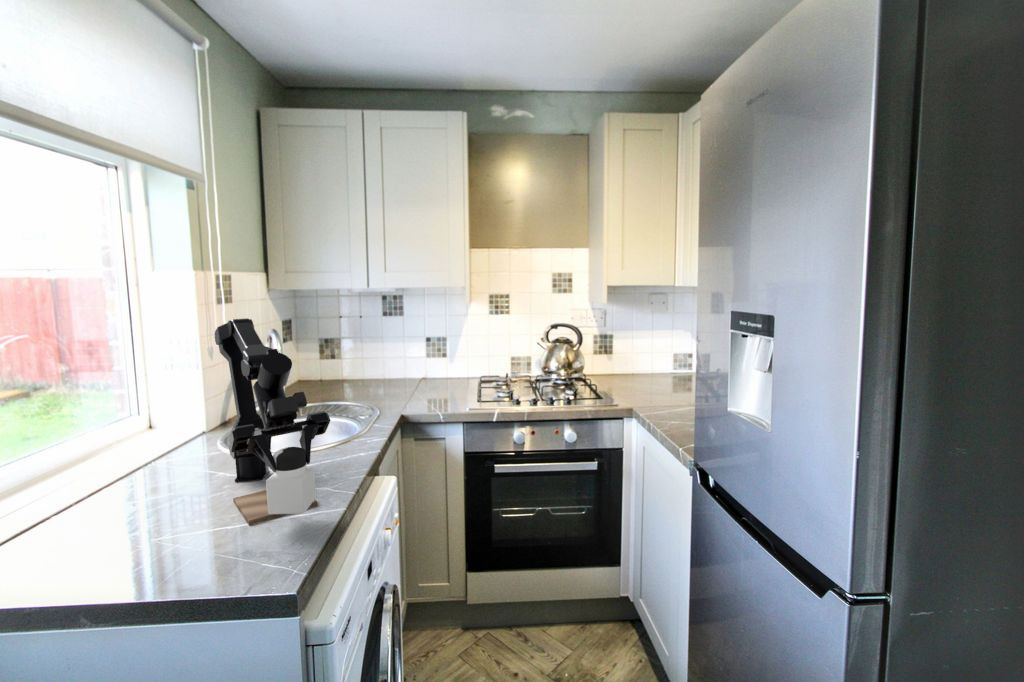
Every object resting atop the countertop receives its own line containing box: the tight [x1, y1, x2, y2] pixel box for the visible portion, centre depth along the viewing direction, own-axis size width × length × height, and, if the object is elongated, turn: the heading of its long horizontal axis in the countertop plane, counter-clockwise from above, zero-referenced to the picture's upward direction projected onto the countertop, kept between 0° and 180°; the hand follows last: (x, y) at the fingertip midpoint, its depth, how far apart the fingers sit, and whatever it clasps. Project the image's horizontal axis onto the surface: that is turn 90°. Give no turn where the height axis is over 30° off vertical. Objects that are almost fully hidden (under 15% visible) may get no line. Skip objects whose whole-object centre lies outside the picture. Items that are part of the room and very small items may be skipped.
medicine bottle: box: [265, 446, 317, 515], centre depth 105 cm, size 7×7×12 cm
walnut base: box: [232, 489, 318, 526], centre depth 117 cm, size 14×14×1 cm
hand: (292, 467), depth 104 cm, fingers closed on medicine bottle, 6 cm apart
